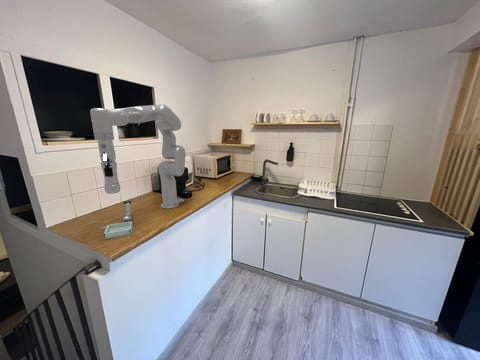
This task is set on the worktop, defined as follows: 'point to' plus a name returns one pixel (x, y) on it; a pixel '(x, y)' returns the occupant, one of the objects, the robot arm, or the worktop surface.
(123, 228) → the tray
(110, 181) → the metal bottle
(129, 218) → the crank
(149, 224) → the worktop surface
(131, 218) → the crank base
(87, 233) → the worktop surface
